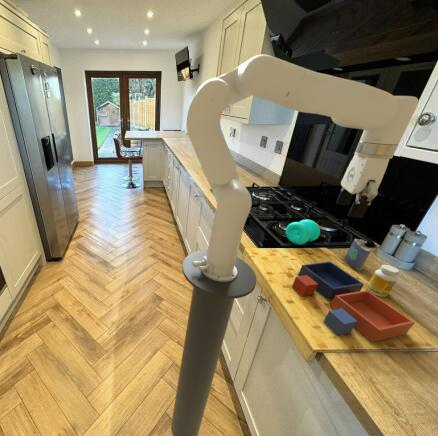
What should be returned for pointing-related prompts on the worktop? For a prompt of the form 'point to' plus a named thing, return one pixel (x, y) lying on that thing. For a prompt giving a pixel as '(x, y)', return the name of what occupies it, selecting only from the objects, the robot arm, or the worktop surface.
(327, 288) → the navy bin
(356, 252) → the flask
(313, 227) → the donuts
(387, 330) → the terracotta bin
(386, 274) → the supplement bottle
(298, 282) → the brick block
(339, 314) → the slate block
